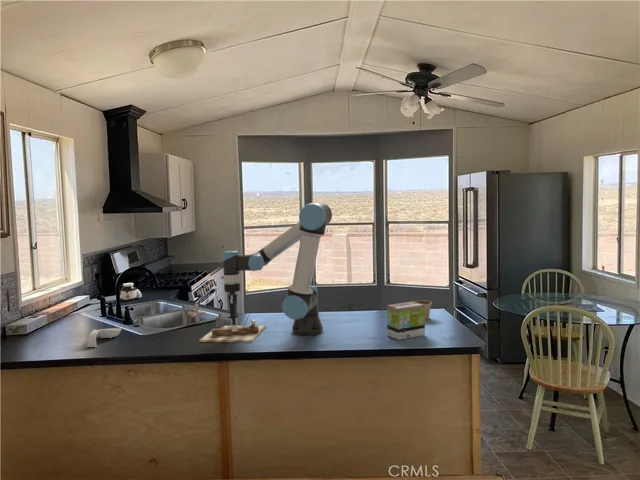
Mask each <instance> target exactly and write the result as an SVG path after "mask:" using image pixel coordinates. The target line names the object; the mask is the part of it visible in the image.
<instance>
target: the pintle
mask: <svg viewBox="0 0 640 480" xmlns="http://www.w3.org/2000/svg"><path fill="white" fill-rule="evenodd" d="M255 325H256V320H255V319H253V320H251V326H255Z"/></svg>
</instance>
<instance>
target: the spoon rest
mask: <svg viewBox="0 0 640 480" xmlns="http://www.w3.org/2000/svg"><path fill="white" fill-rule="evenodd" d="M121 331H122V328H121V327H120V328H119V327H112V328H109V327H108V328H104V329H103V328H102V329H101V328H100V329H93V330H92V331H91V332H90V334H89V336H88V337H87V341H86V348H87V347H95V348H97V336H98V337H99V338H101V339H102V338H111V339H113V338H112V337H114V338H115V337H118V335H119V334H120V333H121Z"/></svg>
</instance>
